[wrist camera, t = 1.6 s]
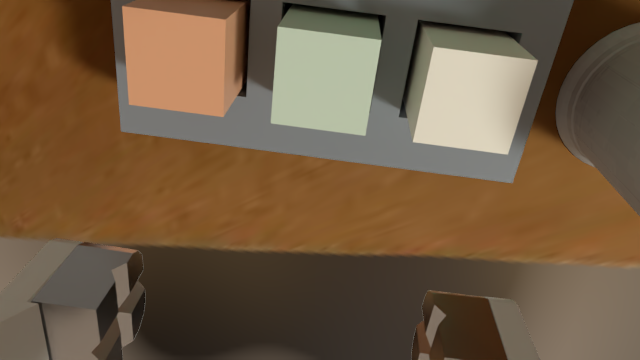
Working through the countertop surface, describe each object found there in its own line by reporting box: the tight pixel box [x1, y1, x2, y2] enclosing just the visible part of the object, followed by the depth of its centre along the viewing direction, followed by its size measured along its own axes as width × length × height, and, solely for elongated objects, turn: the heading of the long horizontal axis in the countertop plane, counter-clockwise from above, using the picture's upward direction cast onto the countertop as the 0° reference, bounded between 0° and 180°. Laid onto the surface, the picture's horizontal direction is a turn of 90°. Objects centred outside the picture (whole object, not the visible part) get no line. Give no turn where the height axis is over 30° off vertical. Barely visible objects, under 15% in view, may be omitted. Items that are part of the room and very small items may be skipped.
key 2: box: [403, 20, 538, 155], centre depth 23 cm, size 4×4×6 cm
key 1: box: [122, 0, 251, 117], centre depth 23 cm, size 4×4×6 cm
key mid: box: [271, 3, 382, 136], centre depth 23 cm, size 4×4×6 cm
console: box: [111, 0, 574, 183], centre depth 26 cm, size 20×10×5 cm, turn 83°
